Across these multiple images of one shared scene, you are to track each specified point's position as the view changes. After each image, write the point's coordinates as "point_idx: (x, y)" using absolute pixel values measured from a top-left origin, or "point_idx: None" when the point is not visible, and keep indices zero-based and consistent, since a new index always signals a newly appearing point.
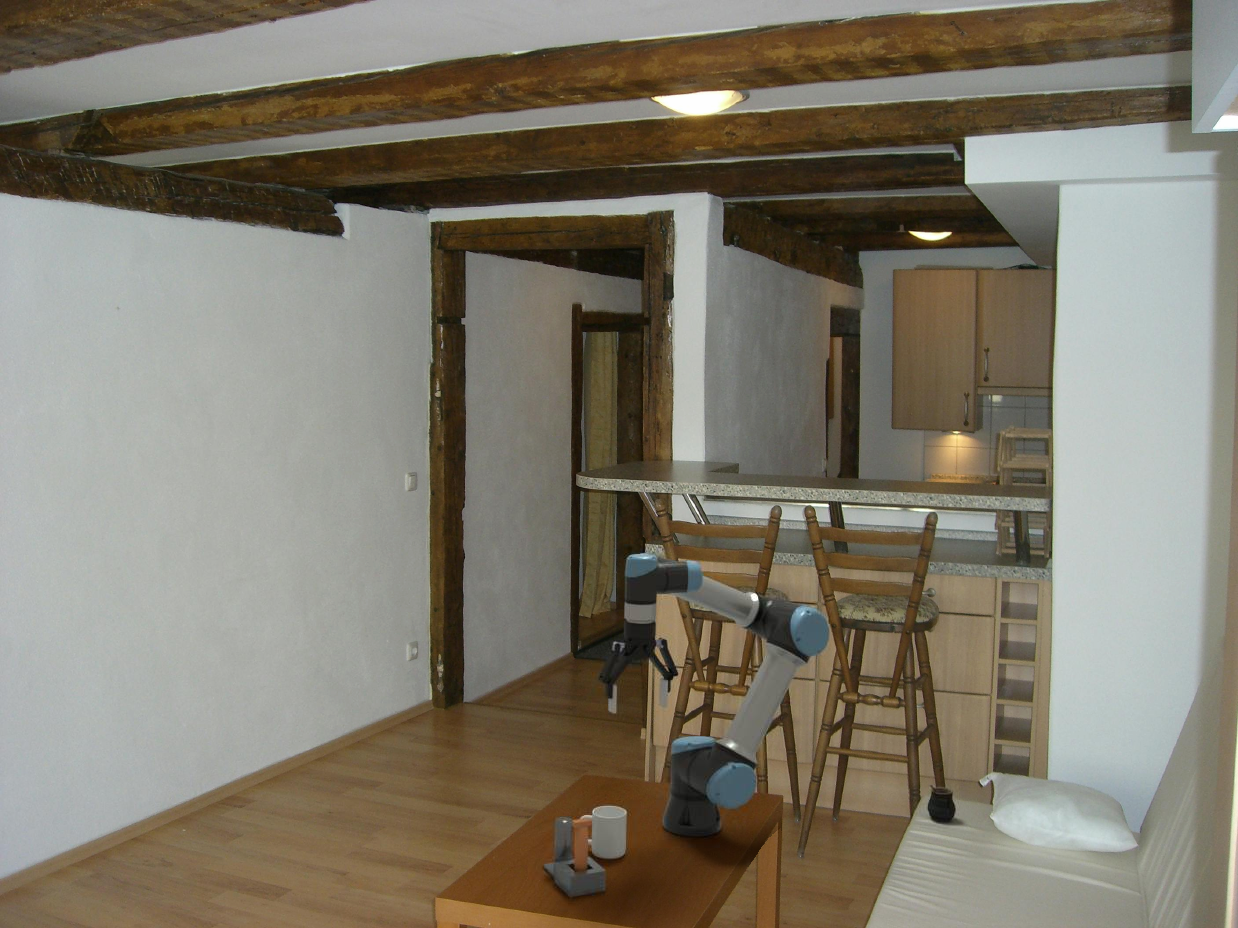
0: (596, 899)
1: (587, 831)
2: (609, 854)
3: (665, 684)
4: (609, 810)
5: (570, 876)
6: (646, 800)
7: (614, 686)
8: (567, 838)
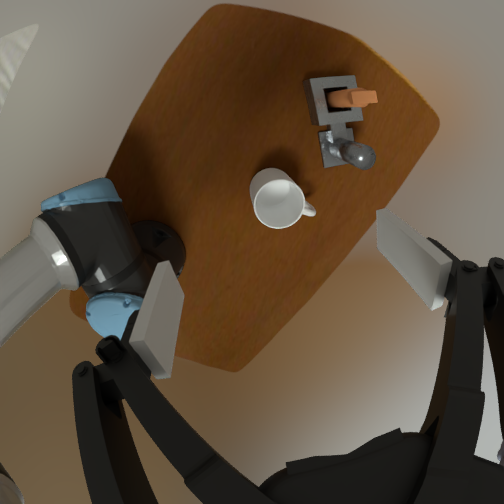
0: (317, 63)
1: (350, 90)
2: (275, 168)
3: (145, 324)
4: (272, 223)
5: (354, 76)
6: (192, 323)
7: (448, 258)
8: (352, 142)
